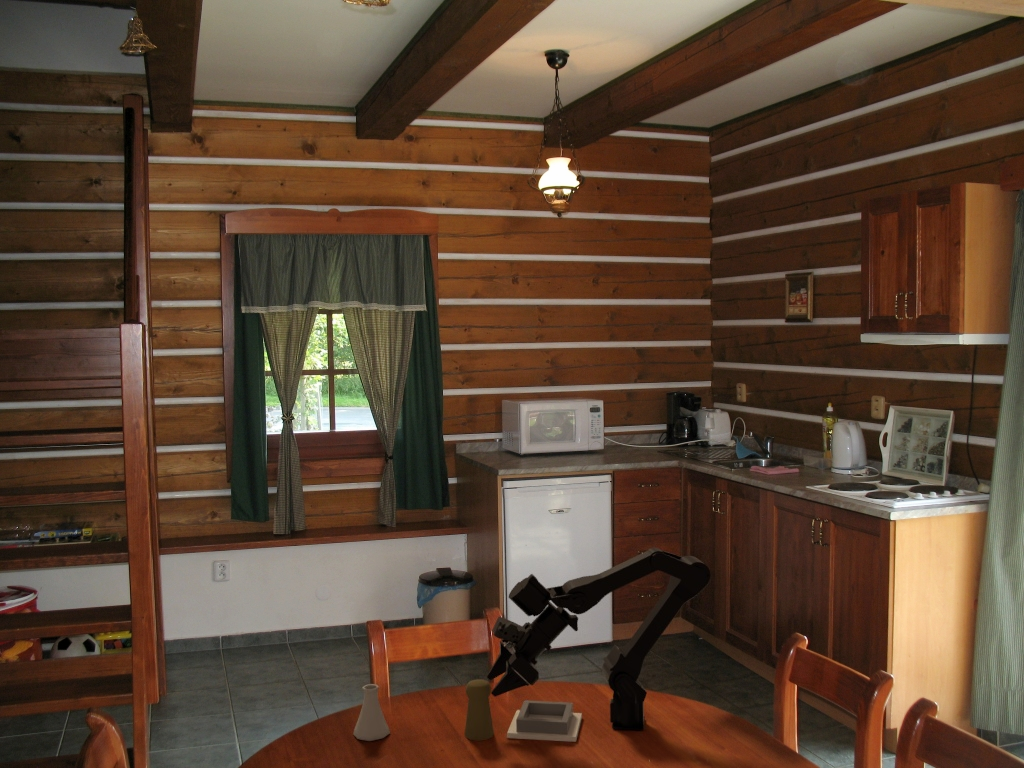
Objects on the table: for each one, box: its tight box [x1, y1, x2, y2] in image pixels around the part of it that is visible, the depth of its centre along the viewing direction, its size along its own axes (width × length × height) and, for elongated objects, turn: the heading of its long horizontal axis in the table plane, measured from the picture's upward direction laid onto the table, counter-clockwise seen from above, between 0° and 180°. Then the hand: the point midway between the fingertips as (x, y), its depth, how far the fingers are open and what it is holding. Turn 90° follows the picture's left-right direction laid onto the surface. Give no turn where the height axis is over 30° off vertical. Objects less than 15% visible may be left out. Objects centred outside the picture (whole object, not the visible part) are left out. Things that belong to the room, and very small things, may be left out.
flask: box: [352, 683, 391, 742], centre depth 190 cm, size 7×7×10 cm
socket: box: [506, 699, 583, 743], centre depth 192 cm, size 14×12×4 cm
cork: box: [464, 678, 495, 741], centre depth 189 cm, size 6×6×11 cm
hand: (490, 686), depth 189 cm, fingers open, 9 cm apart
